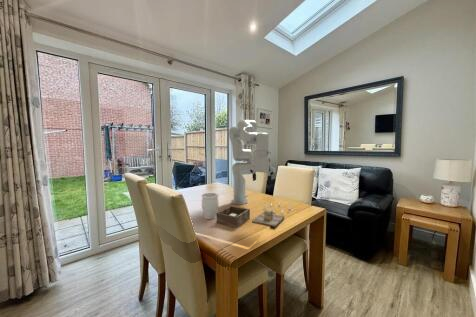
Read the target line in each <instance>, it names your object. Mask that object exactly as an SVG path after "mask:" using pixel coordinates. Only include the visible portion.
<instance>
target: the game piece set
mask: <svg viewBox="0 0 476 317" xmlns="http://www.w3.org/2000/svg"><path fill="white" fill-rule="evenodd" d="M270 203H271V204H270V206H271V207H272V206H273V203H272V202H270ZM277 203H278V206H279V207H281V204H282V202H280V201H279V202H277ZM268 207H269V206H268V202H266V203H265V205H264V207H263V209H265V210H266V208H268ZM286 207H287V208H288V210H287V211H286V213H288V212H289V213H290V210H291V208H292V206H291V205H289V206H288V205H287V206H286ZM289 209H290V210H289ZM280 212H281V213H282V214H281V215H284V210H280ZM275 213H276V212H275V210H273V214H275Z"/></svg>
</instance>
